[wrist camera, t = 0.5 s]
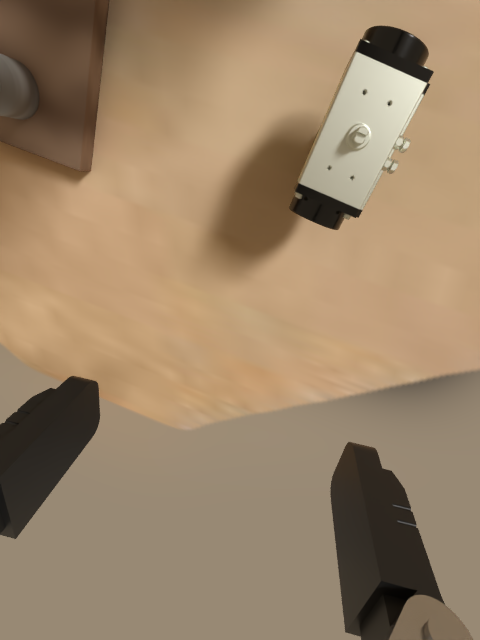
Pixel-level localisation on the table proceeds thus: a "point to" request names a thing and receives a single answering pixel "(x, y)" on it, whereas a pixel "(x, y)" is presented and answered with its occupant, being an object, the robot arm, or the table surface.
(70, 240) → the table surface
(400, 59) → the pneumatic valve
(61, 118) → the board
